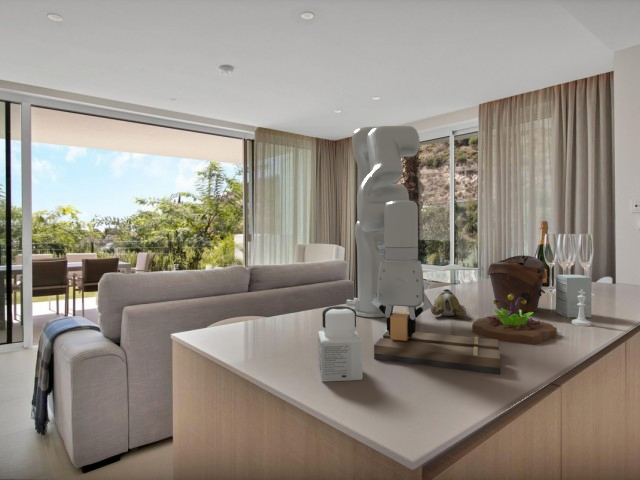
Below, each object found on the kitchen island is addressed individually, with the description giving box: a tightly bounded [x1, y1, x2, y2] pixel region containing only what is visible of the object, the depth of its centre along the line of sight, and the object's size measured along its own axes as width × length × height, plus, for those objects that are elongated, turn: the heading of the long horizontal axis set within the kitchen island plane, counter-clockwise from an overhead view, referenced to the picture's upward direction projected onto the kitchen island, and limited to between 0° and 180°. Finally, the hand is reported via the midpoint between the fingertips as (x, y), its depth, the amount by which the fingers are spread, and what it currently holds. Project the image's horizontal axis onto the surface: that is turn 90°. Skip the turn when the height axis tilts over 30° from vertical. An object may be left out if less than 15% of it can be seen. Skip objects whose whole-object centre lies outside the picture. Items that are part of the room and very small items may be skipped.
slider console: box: [373, 330, 501, 375], centre depth 88 cm, size 25×14×3 cm, turn 67°
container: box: [317, 305, 364, 383], centre depth 77 cm, size 8×8×13 cm
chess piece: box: [571, 289, 592, 327], centre depth 115 cm, size 5×5×10 cm
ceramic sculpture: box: [430, 288, 467, 317], centre depth 128 cm, size 11×9×15 cm
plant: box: [471, 293, 558, 345], centre depth 106 cm, size 20×20×11 cm
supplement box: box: [555, 274, 593, 318], centre depth 126 cm, size 7×7×13 cm
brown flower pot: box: [486, 255, 547, 313], centre depth 135 cm, size 18×20×18 cm
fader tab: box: [390, 310, 410, 341], centre depth 91 cm, size 4×6×7 cm, turn 157°
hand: (401, 334), depth 91 cm, fingers closed on fader tab, 3 cm apart
